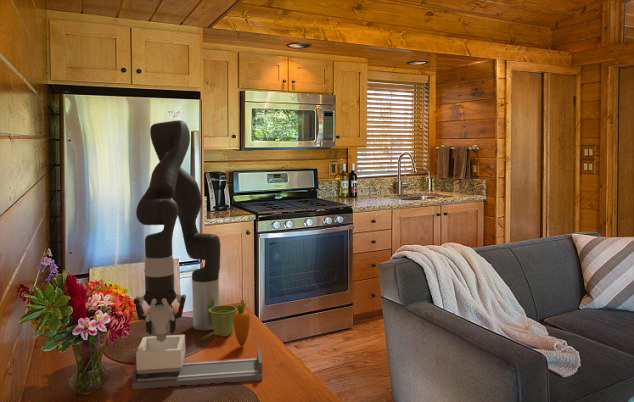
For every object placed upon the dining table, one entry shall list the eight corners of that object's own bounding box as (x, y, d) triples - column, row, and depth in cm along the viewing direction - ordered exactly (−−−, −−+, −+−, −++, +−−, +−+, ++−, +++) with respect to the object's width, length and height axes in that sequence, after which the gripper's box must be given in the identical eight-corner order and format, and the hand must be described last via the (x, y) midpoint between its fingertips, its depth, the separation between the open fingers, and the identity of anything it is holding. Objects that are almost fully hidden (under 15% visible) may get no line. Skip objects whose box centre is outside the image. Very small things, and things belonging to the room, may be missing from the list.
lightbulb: (176, 338, 143) (175, 299, 142) (167, 346, 137) (166, 306, 136) (155, 337, 144) (154, 298, 143) (145, 345, 138) (144, 305, 137)
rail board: (140, 370, 146) (139, 354, 146) (259, 362, 152) (259, 347, 152) (132, 389, 135) (131, 373, 134) (262, 380, 140) (262, 364, 140)
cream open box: (144, 363, 146) (143, 336, 145) (185, 360, 148) (184, 334, 147) (137, 381, 135) (136, 352, 134) (181, 378, 137) (181, 349, 136)
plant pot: (206, 331, 178) (205, 306, 177) (233, 327, 182) (232, 303, 181) (212, 340, 170) (212, 314, 169) (240, 335, 173) (240, 310, 173)
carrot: (241, 350, 160) (241, 304, 159) (230, 347, 163) (230, 301, 162) (253, 346, 164) (252, 300, 163) (241, 342, 167) (241, 297, 166)
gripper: (187, 268, 144) (189, 327, 145) (134, 270, 141) (136, 330, 143) (185, 274, 136) (187, 336, 138) (128, 276, 134) (131, 340, 136)
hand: (161, 333), depth 140 cm, fingers closed on lightbulb, 5 cm apart
